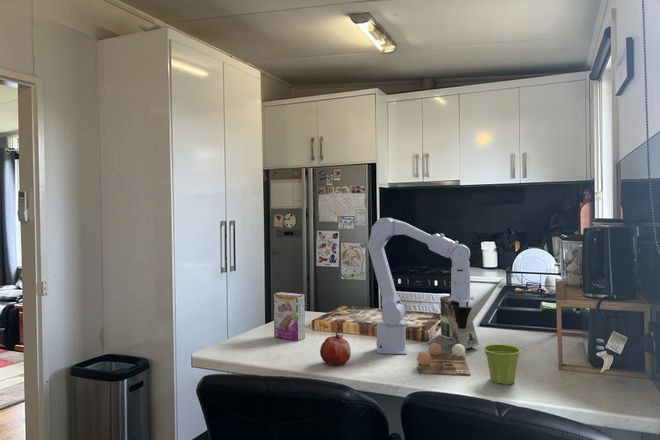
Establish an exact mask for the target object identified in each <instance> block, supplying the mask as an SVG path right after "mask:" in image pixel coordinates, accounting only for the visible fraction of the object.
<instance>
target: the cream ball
mask: <svg viewBox="0 0 660 440" xmlns="http://www.w3.org/2000/svg"><path fill="white" fill-rule="evenodd" d="M451 353H452V354H453V355H454V356H456V357H462V356H463V355H464V356H465V353H466V349H465V348H464V346H463V345H461V344H455V343H454V345H453V346H452V347H451Z"/></svg>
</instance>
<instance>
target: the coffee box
mask: <svg viewBox="0 0 660 440" xmlns="http://www.w3.org/2000/svg"><path fill="white" fill-rule="evenodd" d="M442 300H443V303H444V307H445V311H446V314H447V318H448V322H449V325H450V329H451V332H452V336H453V339H452V341H453V343H454V345H455V344H461V345H463V346H464V348H465V350H466V349H470V348H472V347H476V346H479V345H480V343H479V339H478V336H477V331H476V329H475V325H474V321H473V318H472V313H471V312H470V313H469V316H468V320H467V325H466V329H459V328H458V324H457V323H456V320H455V314H454V309H453V306H452V304H451V302H450V301H454V300H452V299H451V297H448V298H445V299H442ZM467 307H470V305H469V306H468V305H467Z"/></svg>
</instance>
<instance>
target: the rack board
mask: <svg viewBox="0 0 660 440" xmlns="http://www.w3.org/2000/svg"><path fill="white" fill-rule="evenodd" d="M421 352H422V351H421ZM421 352H418V354H419V353H421ZM428 353H429V354H430V352H428ZM430 356H431V362H430V364H429V365H427V366H425V365H420V364H419V362H418V361H417V369H418V374H420V375H421V374H422V375H424V374H425V375H442V376H443V375H444V376H445V375H446V376H448V375H449V376H467V377H469V376H471V372H470V369H469V365H468V363H467V359H466V357H465V356H466V355H465V354H464V355H463V356H462V357H456V356H454V355H453V353H452V352H451V353H450V352H449V353H445V352H441V354H440V355H439V356H432V355H431V354H430Z"/></svg>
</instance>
